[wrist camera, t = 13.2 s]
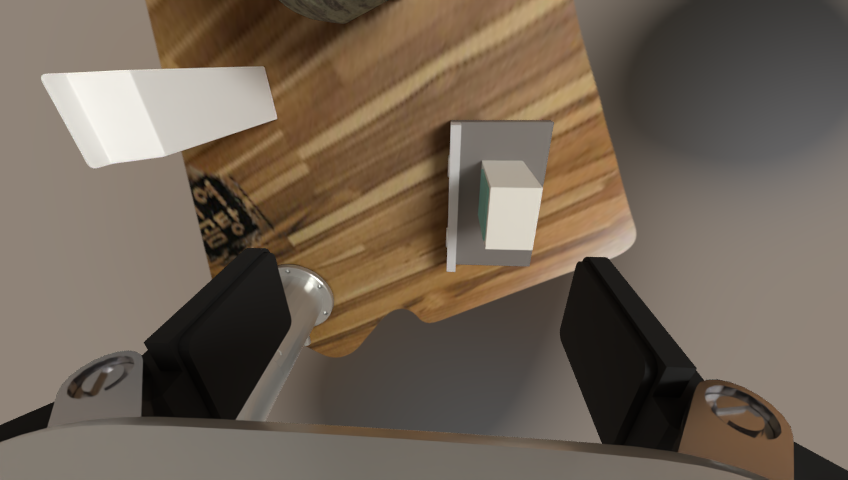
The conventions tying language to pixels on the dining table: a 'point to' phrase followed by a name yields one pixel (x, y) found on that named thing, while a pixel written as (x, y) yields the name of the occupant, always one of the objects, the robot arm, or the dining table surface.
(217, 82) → the milk
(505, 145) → the shelf board
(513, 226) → the carton
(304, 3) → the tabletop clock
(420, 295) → the dining table surface
